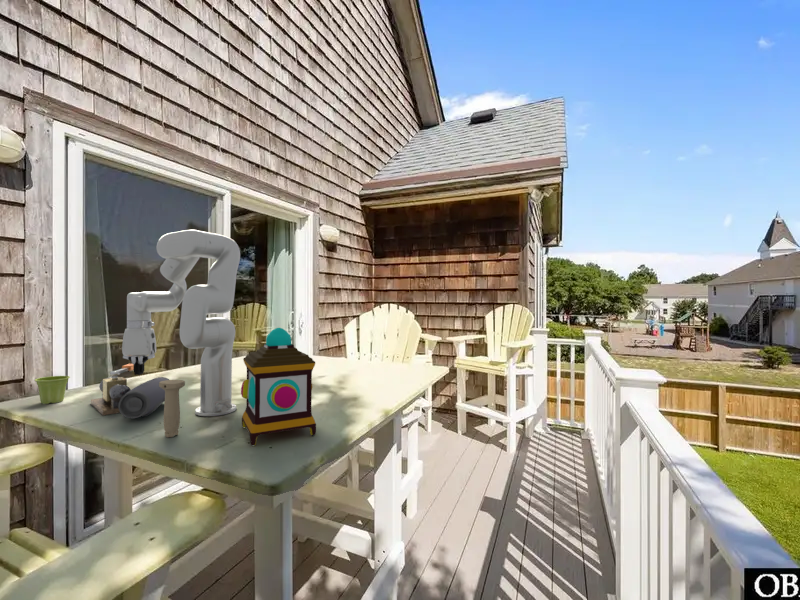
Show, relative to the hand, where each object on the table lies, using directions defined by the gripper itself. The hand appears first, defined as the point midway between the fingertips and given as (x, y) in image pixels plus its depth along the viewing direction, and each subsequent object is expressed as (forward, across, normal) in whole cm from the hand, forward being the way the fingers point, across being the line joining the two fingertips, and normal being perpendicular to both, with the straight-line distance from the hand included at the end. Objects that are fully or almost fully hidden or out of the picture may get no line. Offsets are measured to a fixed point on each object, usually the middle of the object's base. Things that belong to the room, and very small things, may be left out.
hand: (139, 374), depth 144 cm
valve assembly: (+10, +3, +9) cm, 14 cm away
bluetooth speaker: (+10, -12, +17) cm, 23 cm away
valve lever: (-2, +4, +3) cm, 5 cm away
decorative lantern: (+10, -59, +40) cm, 72 cm away
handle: (+10, -30, +41) cm, 52 cm away
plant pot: (+10, +29, +1) cm, 30 cm away
